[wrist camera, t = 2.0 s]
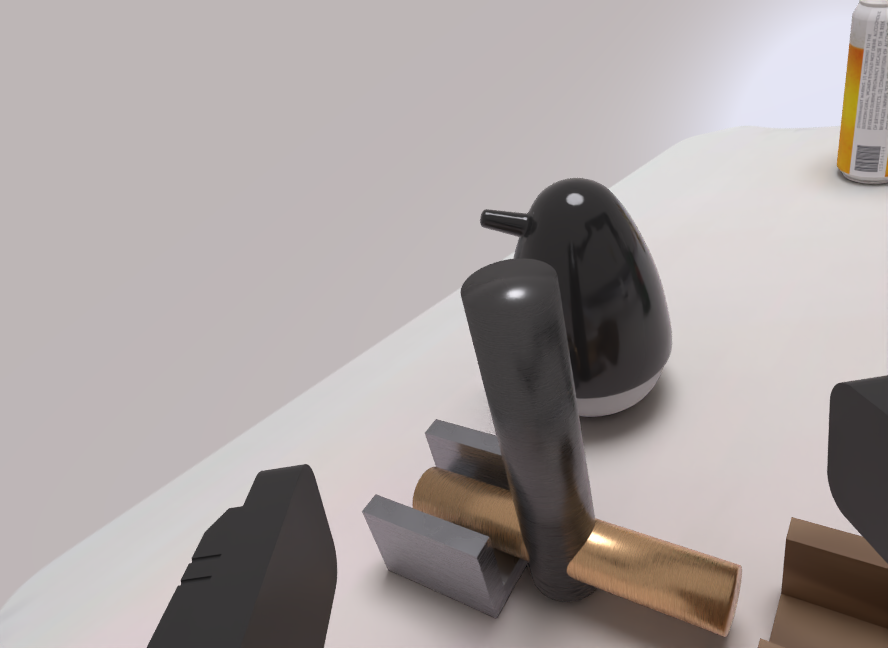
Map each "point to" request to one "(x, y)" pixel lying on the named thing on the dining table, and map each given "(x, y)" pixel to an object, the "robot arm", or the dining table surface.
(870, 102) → the beer can
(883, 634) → the socket
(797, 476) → the dining table surface
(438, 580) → the guide channel
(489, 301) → the copper and grey mallet
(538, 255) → the pump dispenser
